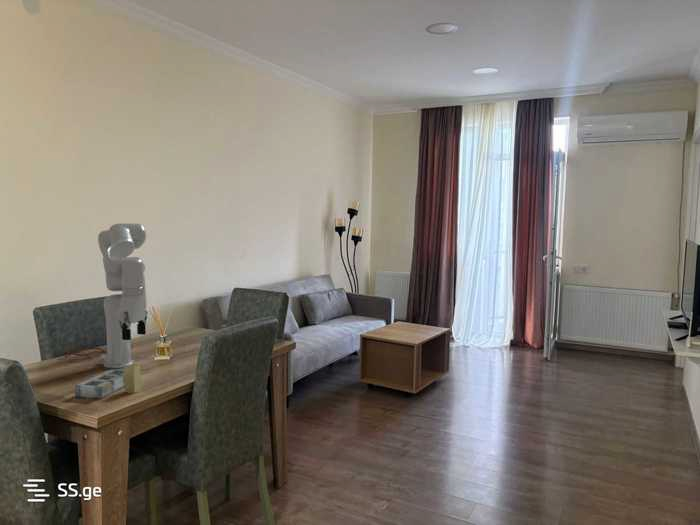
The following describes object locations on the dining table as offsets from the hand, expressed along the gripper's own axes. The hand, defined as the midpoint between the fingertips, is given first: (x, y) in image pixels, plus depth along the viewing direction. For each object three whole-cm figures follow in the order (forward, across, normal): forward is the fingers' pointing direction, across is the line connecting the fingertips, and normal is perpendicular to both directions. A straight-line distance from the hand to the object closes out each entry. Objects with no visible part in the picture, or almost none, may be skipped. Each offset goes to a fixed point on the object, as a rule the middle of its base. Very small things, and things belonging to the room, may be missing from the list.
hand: (134, 336), depth 198 cm
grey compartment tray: (+21, 0, -12) cm, 24 cm away
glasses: (+21, -42, -52) cm, 71 cm away
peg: (+21, +1, -1) cm, 21 cm away
